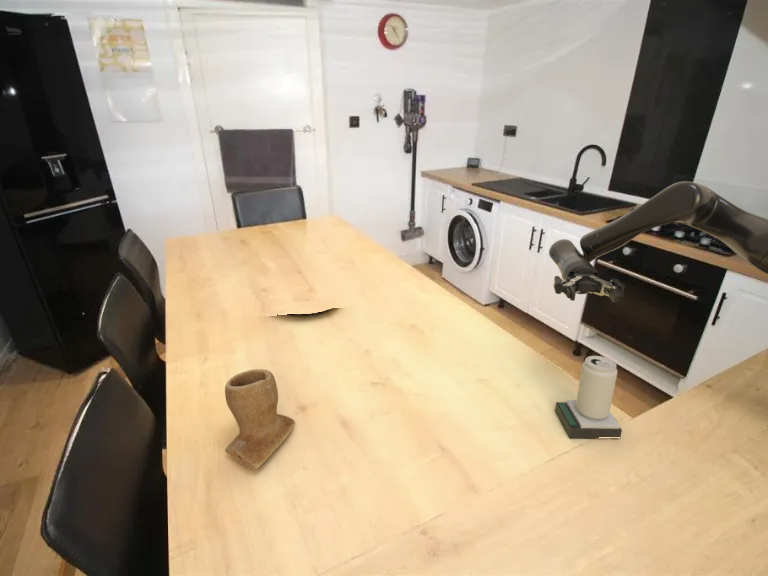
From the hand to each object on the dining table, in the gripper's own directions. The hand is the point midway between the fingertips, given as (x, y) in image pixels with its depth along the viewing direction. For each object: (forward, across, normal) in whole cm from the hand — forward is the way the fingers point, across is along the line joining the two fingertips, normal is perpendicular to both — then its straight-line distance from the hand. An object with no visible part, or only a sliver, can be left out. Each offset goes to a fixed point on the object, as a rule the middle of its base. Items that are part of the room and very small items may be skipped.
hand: (594, 297), depth 89 cm
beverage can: (+11, 0, +22) cm, 24 cm away
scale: (+11, -1, +25) cm, 27 cm away
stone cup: (+30, -68, +25) cm, 78 cm away
